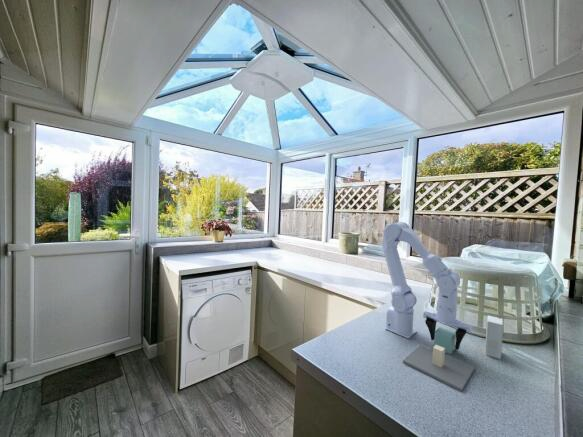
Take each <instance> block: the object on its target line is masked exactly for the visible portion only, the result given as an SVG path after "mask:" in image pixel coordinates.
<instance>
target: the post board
mask: <svg viewBox="0 0 583 437" xmlns="http://www.w3.org/2000/svg"><path fill="white" fill-rule="evenodd" d="M402 363H403V364H405V365H407V366H409V367H411V368H413V369H415V370H416V371H418V372H420V373H423V374H425V375H427V376H429V377H430V378H433V379H434V380H435V379H436V380H437V381H439V382H441V383H443V384H446V385H447V386H450V387H451V388H453V389H455V390H457V391H459V392H461V393H462V392H463V390H464V389H465V387H466V386H467V384H468V382H469V380H470V379H471V377H472V375H473V373H474V372H475V370H476V369H475V367H474V366H472V365H469V364H467V363H465V362H463V361H461V360H457V359H455V358H452V357H451V356H449V355H446V352H445V348H443V347H441V346H438V345H435V346H434V345H433V346H432V349H431V348H429V347H426V346H424V345H422V344H419V345H418V346H417V347H416V348H415V349H414V350H413V351H411V352H410V353H409V354H408V355H407V356H406V357H405V358H404V359H403V360H402Z"/></svg>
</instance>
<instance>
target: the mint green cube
mask: <svg viewBox="0 0 583 437" xmlns="http://www.w3.org/2000/svg"><path fill="white" fill-rule="evenodd" d="M435 345H438V346H441V347H443V348H445V354H449V355H451V354H452V353H453V352H454V351H455V350H456V349H455V345H456V331H453V330H450V329H447V328H444V327H441V326H439V327H438V328H436V329H435V337H434V340H433V347H434V346H435Z"/></svg>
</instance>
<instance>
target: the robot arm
mask: <svg viewBox="0 0 583 437" xmlns="http://www.w3.org/2000/svg"><path fill="white" fill-rule="evenodd" d="M382 233H383V237H382V240H381V241H382V242H381V247H382V250H383V253H384V258H385V262H386V265H387V269H388V272H389V276H390V280H391V284H392V289H391V292H390V294H391V302H390V303H391V305H390V306H388V308H387V311H386V318H385V320H386V323H385V327H384V329H385V330H387V331H389V332H392V333H393V334H396V335H398V336H402V337H404V338H405V339H410V338H411V337H412V336H413V335H415V334H416V333H417V332H418V331H417V329H416V330H415V328H414V307H415V305H416V304H417V297H416V294H414V292H413V291H412V288H411V287H410V286H409V285H408V283H407V279H406V275H405V271H404V269H403V265H402V262H401V258H400V254H399V251H398V248H397V247H398V245H399V244H400V243H401V242H404V243H407V244H409V246H410V247H411V248H413V251H415V252H416V253H417V254H418V256H420V257H421V258H422V264H423V266H424V267H425V269H427V271H428V272H429V273H430V275H432V277H433V278H434V279H435V280H436V281H435V283H436V286H437V287H438V293H437V294H438V295H437V296H438V297H437V307H436V309H437V310H436V313H434V312H431V311H424V312H423V315H422V317H423V318H424V319H425V321H424V322H425V323H424V324H425V325H426V326H427V329H428V332H429V335H430V341H434V337H435V331H436V330H437V328H436V327H437V322H438V323H439V324H442V325H444V326H447V325H448V326H450V327H452V328H456V330H455V332H456V343H455V350H456V351H458V350H459V349H460V347H461V344H462V340H463V339H464V338H465V335H466V334H467V333H469V334H470V333H471V332H472V327H473V326H472V325H471V324H467V323H465V322H463V321H462V320H461V321H460V320H458V319H457V309H458V308H457V307H458V287H459V285H460V284H461V279H460V277H459V275H458V273H456V272H454V271H453V270H452V269H451V268H449V267H448V266H447V265H446V264H445V263H444V262H443V258H442V257H441V256H438V255H437V254H432V253H431V252H430V251H429V250H428V248H427V247H426V246H425V245H424V244H423V242H422V241H421V239H420V238H419V236H417V234H416V233H415V232H414V230H413V228H411V227H410V226H409V224H408V223H406V222H402V221H401V222H390V223H388V224H386V226H385V227H384V229H383V230H382Z"/></svg>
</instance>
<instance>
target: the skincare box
mask: <svg viewBox="0 0 583 437" xmlns="http://www.w3.org/2000/svg"><path fill="white" fill-rule="evenodd" d="M486 320H487V321H486V331H485V332H486V334H485V352H484V353H485V355H486V356H489V357H492V358H495V359H499V360H502V350H503V348H502V346H503V335H504V334H503V332H504V320H503V318H499V317H496V316H493V315H492V316H491V315H487V319H486Z"/></svg>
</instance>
